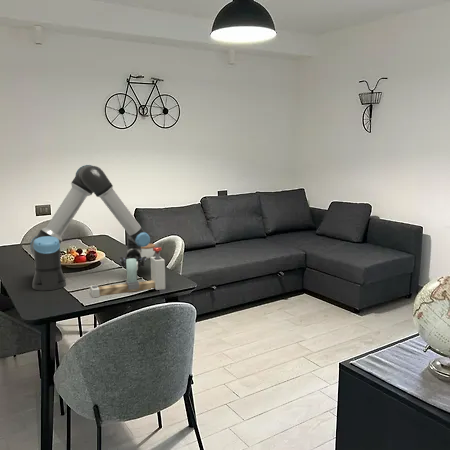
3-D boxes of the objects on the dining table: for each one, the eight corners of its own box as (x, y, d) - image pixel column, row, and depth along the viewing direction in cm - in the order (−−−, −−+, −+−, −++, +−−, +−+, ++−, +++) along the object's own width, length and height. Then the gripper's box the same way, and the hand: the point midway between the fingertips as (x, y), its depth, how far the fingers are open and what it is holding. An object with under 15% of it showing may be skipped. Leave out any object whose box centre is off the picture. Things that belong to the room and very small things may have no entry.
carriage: (128, 289, 212) (127, 261, 209) (125, 286, 217) (124, 258, 215) (139, 288, 214) (138, 260, 211) (135, 284, 219) (135, 257, 217)
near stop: (92, 297, 205) (92, 288, 204) (90, 293, 211) (90, 284, 211) (99, 296, 206) (99, 287, 205) (97, 292, 212) (96, 283, 212)
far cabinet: (156, 290, 216) (155, 261, 213) (151, 284, 224) (150, 256, 221) (165, 288, 217) (164, 260, 215) (160, 283, 226) (159, 256, 223)
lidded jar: (147, 254, 287) (147, 240, 286) (159, 257, 280) (158, 242, 279) (134, 257, 279) (133, 242, 277) (145, 260, 272) (145, 245, 271)
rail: (99, 295, 208) (99, 289, 207) (97, 293, 211) (97, 286, 211) (154, 288, 218) (154, 282, 217) (152, 286, 222) (152, 280, 221)
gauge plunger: (154, 272, 217) (154, 249, 215) (152, 270, 220) (152, 247, 218) (163, 271, 218) (162, 248, 216) (160, 269, 222) (160, 246, 220)
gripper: (149, 262, 246) (150, 274, 223) (117, 263, 243) (114, 275, 221) (149, 248, 245) (149, 259, 222) (117, 250, 242) (113, 260, 219)
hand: (132, 267), depth 221 cm, fingers open, 4 cm apart
